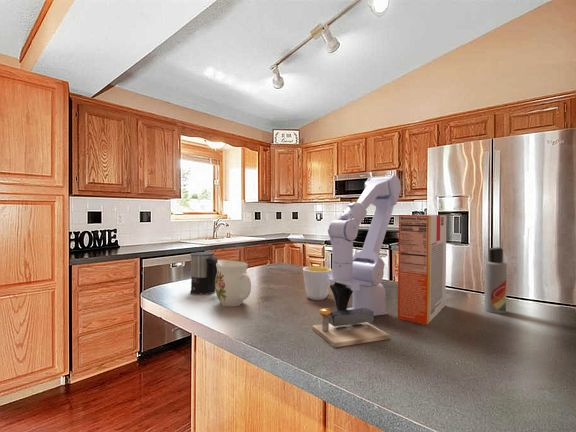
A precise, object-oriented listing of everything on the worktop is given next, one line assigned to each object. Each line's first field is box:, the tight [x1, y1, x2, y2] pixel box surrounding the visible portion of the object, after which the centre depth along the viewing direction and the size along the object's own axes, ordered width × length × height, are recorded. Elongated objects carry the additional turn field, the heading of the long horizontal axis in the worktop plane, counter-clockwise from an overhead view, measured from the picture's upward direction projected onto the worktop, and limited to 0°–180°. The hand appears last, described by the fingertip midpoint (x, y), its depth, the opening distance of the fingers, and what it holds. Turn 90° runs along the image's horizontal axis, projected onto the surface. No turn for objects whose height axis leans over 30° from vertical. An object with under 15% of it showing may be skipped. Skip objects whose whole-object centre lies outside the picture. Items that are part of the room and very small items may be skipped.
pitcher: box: [215, 259, 252, 307], centre depth 107 cm, size 11×18×14 cm, turn 43°
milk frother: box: [189, 251, 220, 295], centre depth 126 cm, size 14×16×15 cm
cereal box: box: [397, 214, 448, 325], centre depth 101 cm, size 23×8×30 cm, turn 143°
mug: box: [302, 266, 332, 301], centre depth 117 cm, size 14×10×10 cm
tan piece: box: [312, 315, 390, 348], centre depth 82 cm, size 15×12×5 cm
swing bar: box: [319, 307, 375, 326], centre depth 83 cm, size 14×4×4 cm, turn 111°
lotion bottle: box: [483, 247, 508, 314], centre depth 102 cm, size 6×6×20 cm
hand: (341, 310), depth 91 cm, fingers closed
